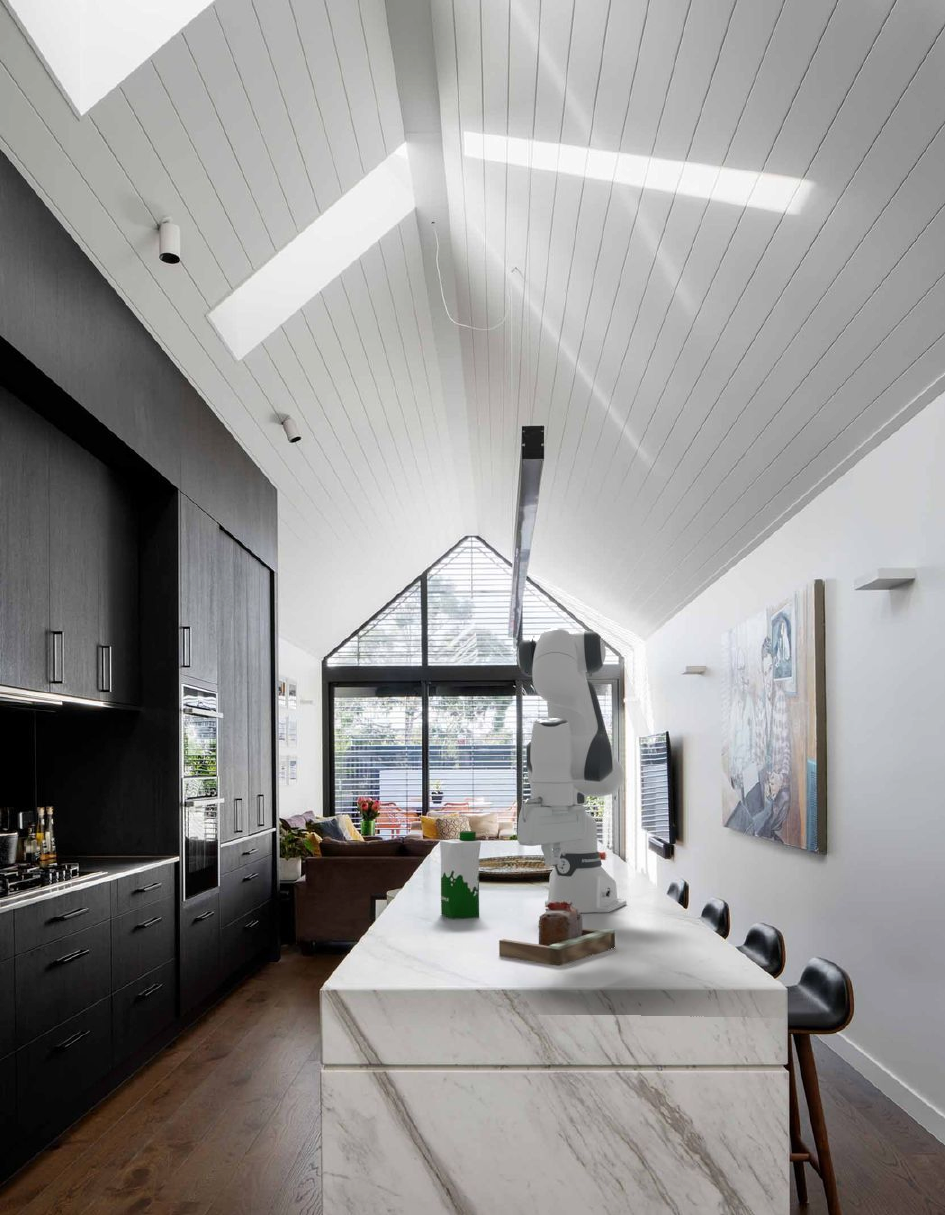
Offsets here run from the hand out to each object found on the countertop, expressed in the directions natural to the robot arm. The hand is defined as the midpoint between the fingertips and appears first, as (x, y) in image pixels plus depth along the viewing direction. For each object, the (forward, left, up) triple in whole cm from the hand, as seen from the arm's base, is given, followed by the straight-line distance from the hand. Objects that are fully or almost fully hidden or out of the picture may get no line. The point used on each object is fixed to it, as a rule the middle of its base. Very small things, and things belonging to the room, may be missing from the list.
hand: (552, 865), depth 201 cm
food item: (-1, +1, -17) cm, 17 cm away
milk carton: (-20, -41, -17) cm, 49 cm away
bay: (0, +1, -17) cm, 17 cm away
